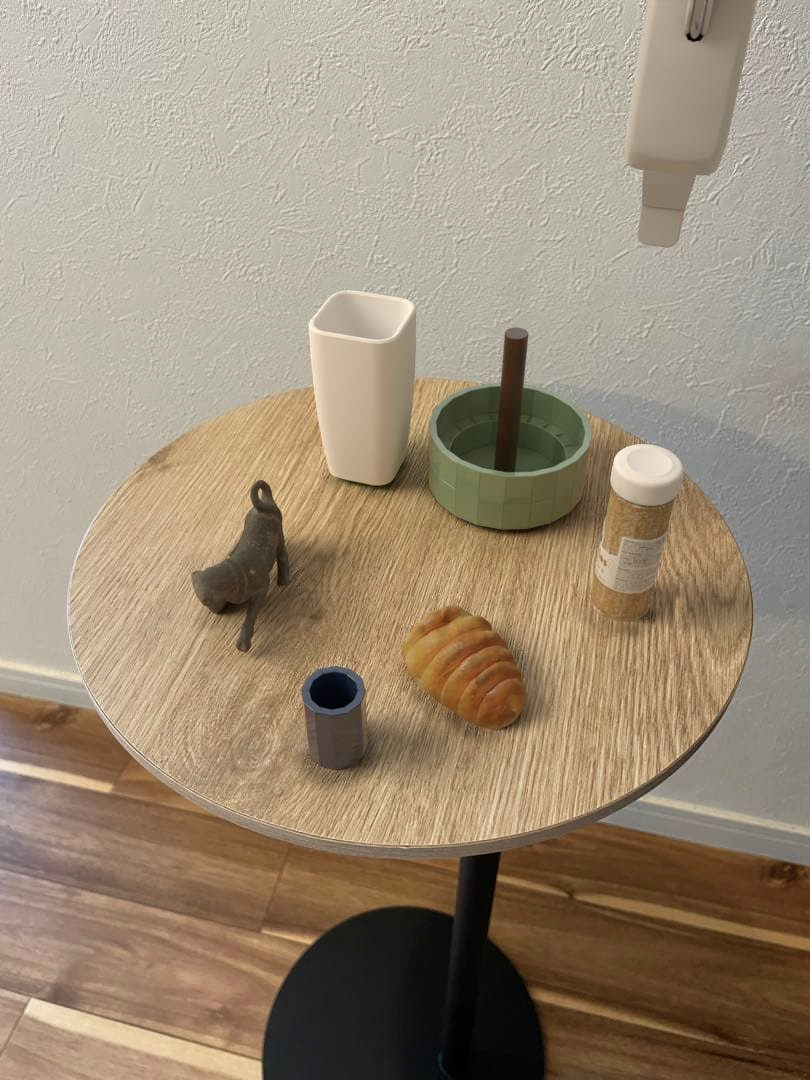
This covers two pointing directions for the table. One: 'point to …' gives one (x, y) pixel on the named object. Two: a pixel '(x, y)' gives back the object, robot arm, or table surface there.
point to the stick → (510, 398)
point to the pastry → (465, 667)
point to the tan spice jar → (634, 530)
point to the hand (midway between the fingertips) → (665, 198)
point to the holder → (335, 717)
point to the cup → (364, 383)
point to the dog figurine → (248, 564)
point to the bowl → (541, 465)
